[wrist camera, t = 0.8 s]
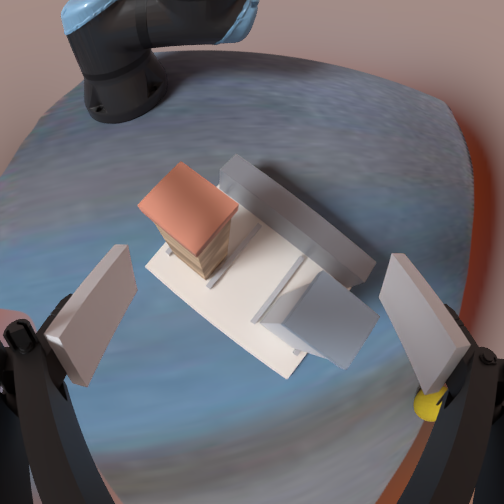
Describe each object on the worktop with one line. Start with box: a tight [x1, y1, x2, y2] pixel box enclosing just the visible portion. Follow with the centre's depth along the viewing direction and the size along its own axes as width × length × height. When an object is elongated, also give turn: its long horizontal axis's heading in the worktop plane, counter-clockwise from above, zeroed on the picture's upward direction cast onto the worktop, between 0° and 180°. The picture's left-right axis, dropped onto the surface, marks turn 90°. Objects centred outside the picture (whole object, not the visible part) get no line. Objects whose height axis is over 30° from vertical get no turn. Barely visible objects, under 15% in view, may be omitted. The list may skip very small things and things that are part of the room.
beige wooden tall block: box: [138, 162, 239, 280], centre depth 27 cm, size 5×6×15 cm
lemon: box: [414, 386, 448, 421], centre depth 29 cm, size 6×6×8 cm
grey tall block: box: [260, 270, 380, 370], centre depth 26 cm, size 5×6×15 cm
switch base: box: [145, 154, 376, 379], centre depth 33 cm, size 18×22×6 cm
